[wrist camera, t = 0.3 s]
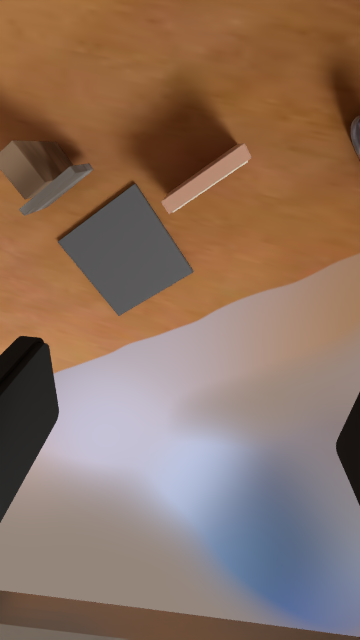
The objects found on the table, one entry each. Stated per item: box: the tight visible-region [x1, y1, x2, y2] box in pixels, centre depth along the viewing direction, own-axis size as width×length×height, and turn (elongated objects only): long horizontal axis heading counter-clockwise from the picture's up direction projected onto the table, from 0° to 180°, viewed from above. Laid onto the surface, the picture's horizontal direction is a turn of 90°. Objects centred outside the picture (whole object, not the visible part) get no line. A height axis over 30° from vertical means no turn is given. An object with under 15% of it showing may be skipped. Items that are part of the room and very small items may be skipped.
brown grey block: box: [0, 140, 93, 216], centre depth 36 cm, size 5×8×10 cm, turn 123°
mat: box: [58, 184, 193, 316], centre depth 45 cm, size 14×14×1 cm
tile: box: [161, 143, 252, 214], centre depth 36 cm, size 2×10×8 cm, turn 124°
